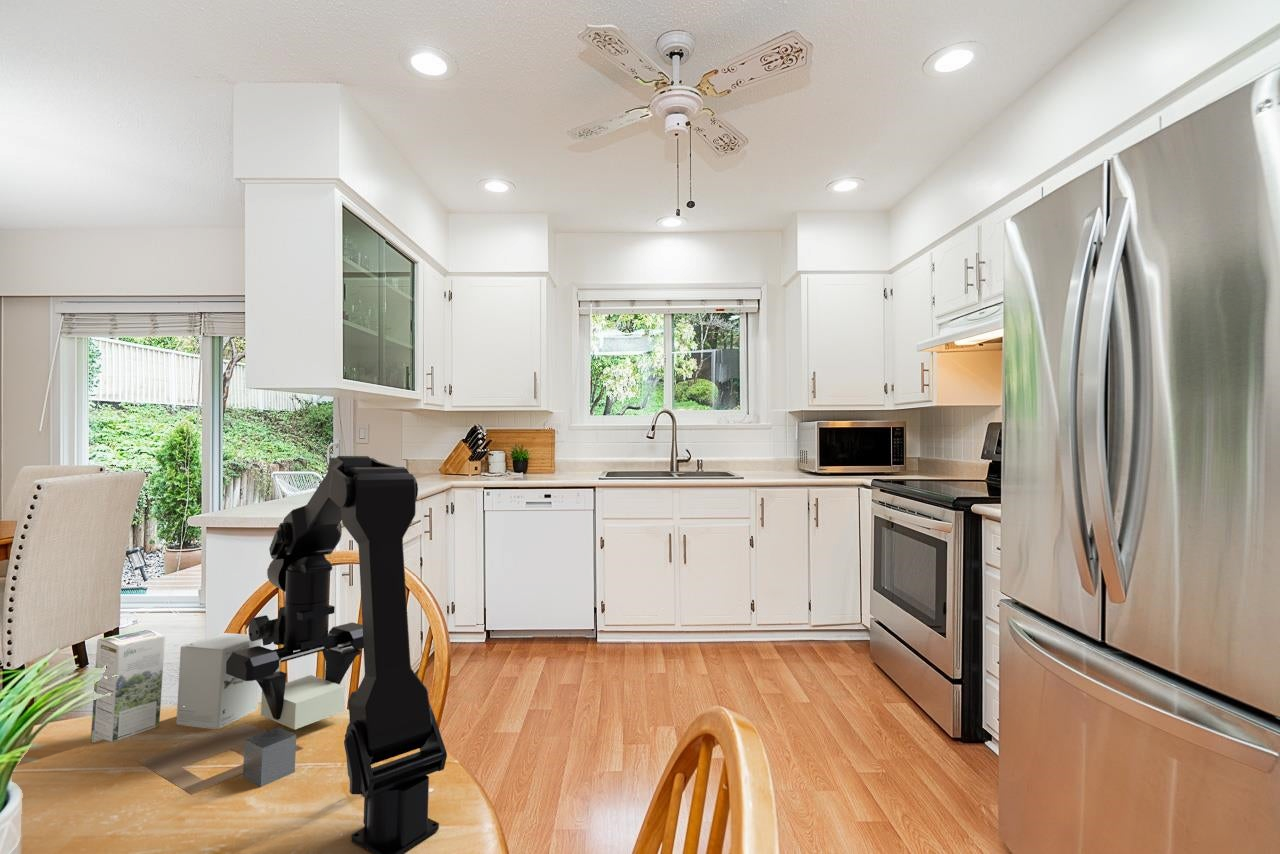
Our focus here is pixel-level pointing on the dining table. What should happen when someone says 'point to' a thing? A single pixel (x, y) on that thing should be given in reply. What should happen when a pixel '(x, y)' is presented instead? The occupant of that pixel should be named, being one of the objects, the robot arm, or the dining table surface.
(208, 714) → the supplement box
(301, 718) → the sage cover
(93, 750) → the dining table surface
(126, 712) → the syrup box
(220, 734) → the walnut board
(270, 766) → the grey block
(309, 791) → the dining table surface
